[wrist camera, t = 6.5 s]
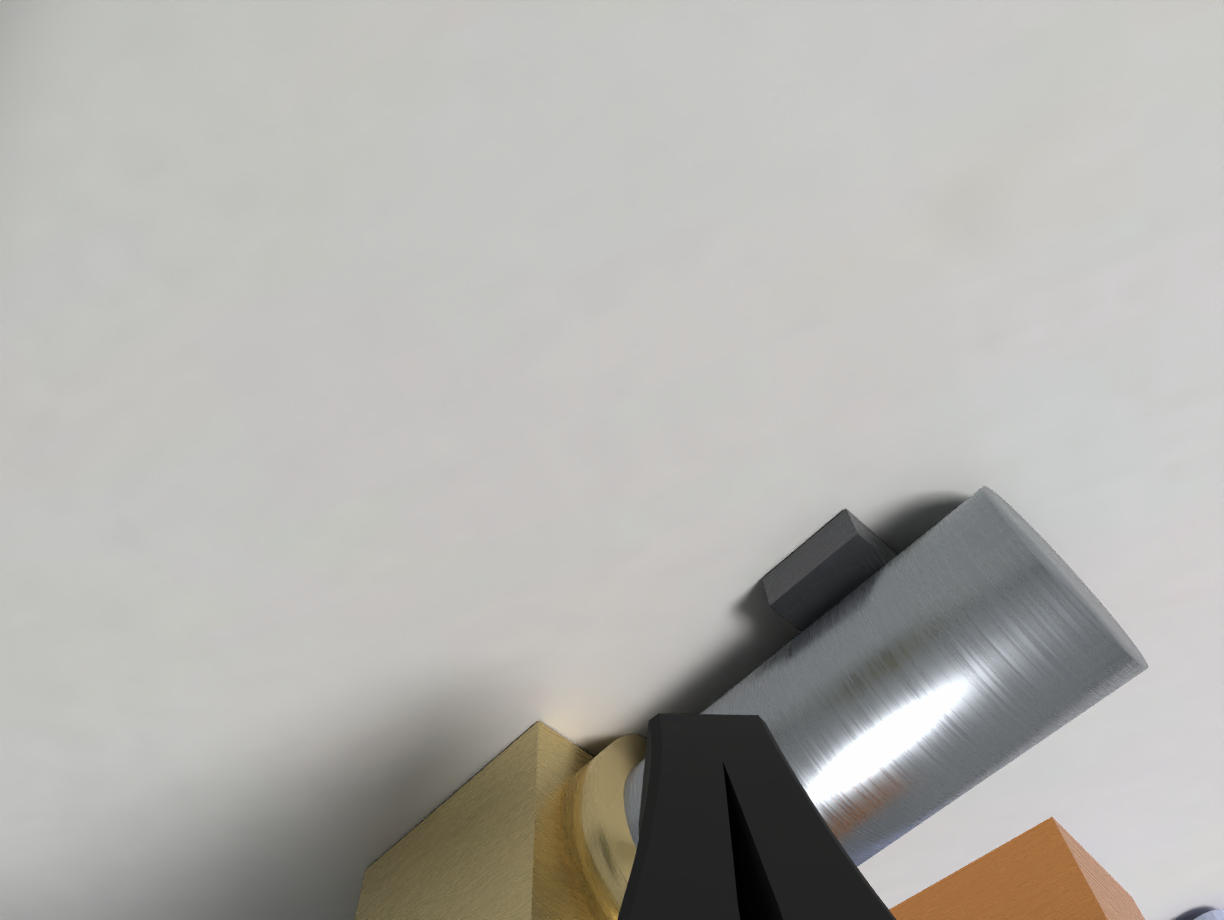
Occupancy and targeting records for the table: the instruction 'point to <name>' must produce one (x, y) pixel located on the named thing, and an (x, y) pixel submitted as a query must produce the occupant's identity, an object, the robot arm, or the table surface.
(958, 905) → the valve lever
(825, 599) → the valve pipe
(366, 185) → the table surface
